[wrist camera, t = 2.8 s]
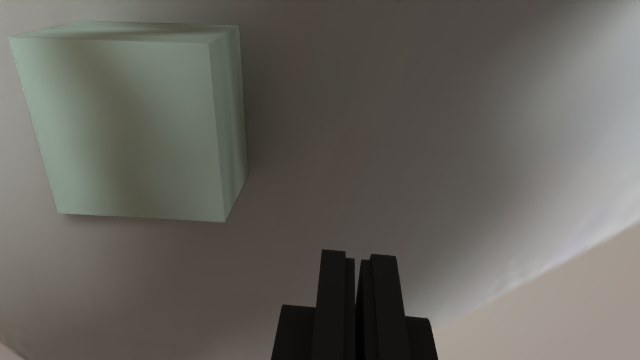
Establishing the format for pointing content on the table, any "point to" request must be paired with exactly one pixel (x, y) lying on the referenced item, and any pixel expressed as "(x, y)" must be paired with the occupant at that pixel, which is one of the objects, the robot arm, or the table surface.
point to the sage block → (137, 117)
